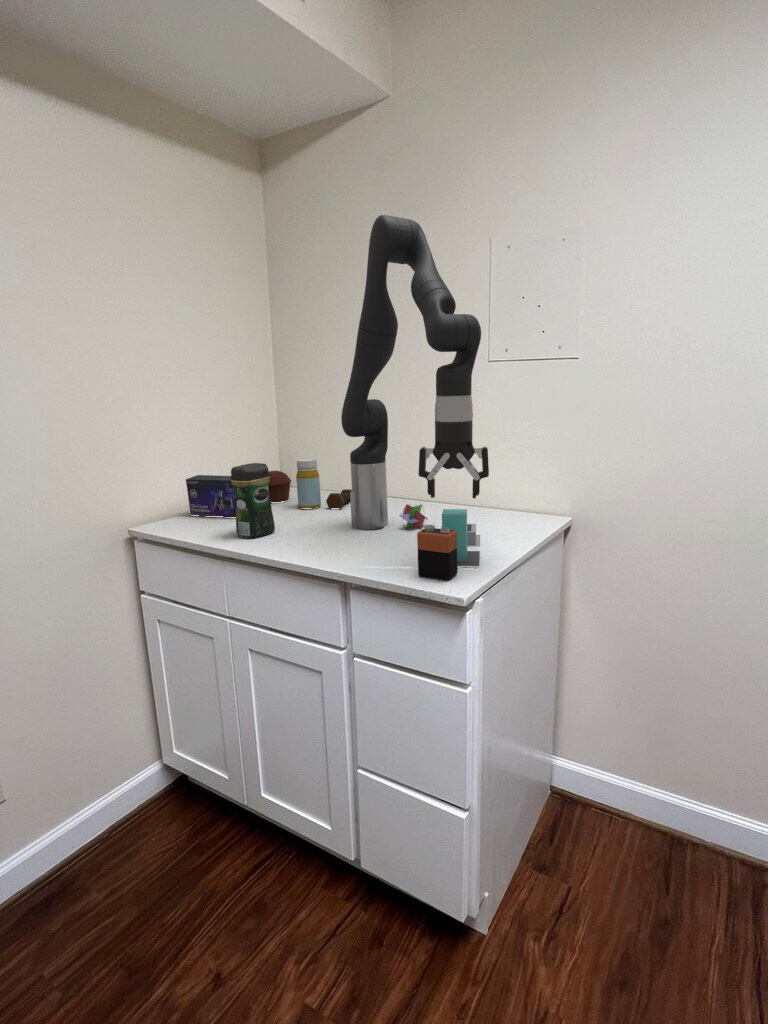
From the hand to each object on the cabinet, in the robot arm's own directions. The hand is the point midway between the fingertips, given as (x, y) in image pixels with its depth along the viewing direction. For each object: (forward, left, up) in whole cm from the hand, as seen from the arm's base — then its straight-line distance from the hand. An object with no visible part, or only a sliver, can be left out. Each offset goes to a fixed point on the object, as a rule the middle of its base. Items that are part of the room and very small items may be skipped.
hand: (453, 497), depth 120 cm
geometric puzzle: (-12, +26, -14) cm, 32 cm away
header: (0, +14, -14) cm, 20 cm away
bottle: (-48, +52, -14) cm, 72 cm away
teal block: (0, 0, -13) cm, 13 cm away
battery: (-3, -10, -14) cm, 17 cm away
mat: (0, 0, -14) cm, 14 cm away
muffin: (-63, +62, -14) cm, 89 cm away
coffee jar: (-53, +20, -14) cm, 58 cm away
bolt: (-38, +56, -14) cm, 69 cm away
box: (-73, +41, -14) cm, 85 cm away
